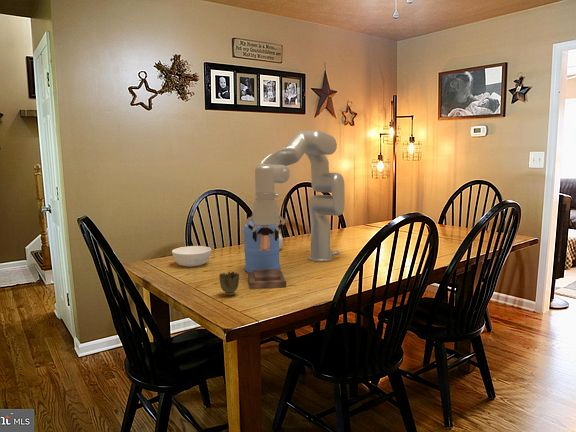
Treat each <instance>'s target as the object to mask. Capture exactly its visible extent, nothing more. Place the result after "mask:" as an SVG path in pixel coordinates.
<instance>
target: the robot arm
mask: <svg viewBox="0 0 576 432" xmlns="http://www.w3.org/2000/svg"><path fill="white" fill-rule="evenodd" d="M337 146H338V143H337V140H336V138H335V137H334V136H333V135H330V133H329V134H328V133H326V132H324V131H321V130H315V129H314V130H313V129H311V130H300V131H297V132H296V133H295V134H294V135H293V136H292V137H291V139H290V140H289V141H288V142H287V143H286V144H285V145H284V147H282V148H280V149H277V150H276V151H274V152H272V153H271V154H268V155H267V156H265V157H264V158H263V160H262V161H261V162H260V163H259V164H258V165H257V166H255V168H254V179H255V181H254V182H255V183H254V185H255V189H254V191H255V192H254V193H255V200H253V203H252V214H251V216H250V217H248V218H247V219H246V220H244V225H245V224H246V225H247V226H248V228H249V229H251V230H252V231H253V239H254V241H255V242H256V241H257V234H256V228H257V227H258V226H270V225H274V227H275V241H277V239H278V238H279V230H280V231H281V229H282V228H283V226H284V225H285V223H286V222H287V220H286V218H284V217H283V216H281V215H279V209H278V203H277V199H276V198H278V197H279V194H278V193H275V184H284V183H286V182H288V181H289V179H290V177H291V170H290V169H289V167H287V166H291V165H294V164H296V163H298V162H299V161H300V160H301V159H302V157H303V156H304V155H306V156H307V158H308V159H309V163H310V174H311V175H310V176H311V177H310V178H311V180H310V181H311V183H310V184H311V189H312V190H313V192H315V193H331V195H329V194H315V195H312V196H311V197H309V200H308V209H309V216H310V254H309V255H307V260H309V261H310V262H311V261H312V262H319V263H320V262H322V263H325V262H330V261H333V260H334V256H340V255H341V251H340V250H337V251H336V250H332V249H331V222H330V219H329V217H328V216H333V217H334V216H335V217H336V216H337V217H338V216H341V215H342V214H343V213H344V210H345V196H346V195H345V194H346V193H345V191H346V190H345V188H346V187H345V179H344V177H343V175H342V174H341V173H339V172H330V167H329V166H330V165H329V164H330V163H329V159H328V158H327V155H330V156H331V155H333V154H334V153H335V152H336V150H337ZM278 219H279V220H278ZM250 221H253V224H254V226H253V227H252V226H251V225H250V224H249V222H250ZM279 221H281V222H280V224H279ZM277 224H279V225H278V226H277Z"/></svg>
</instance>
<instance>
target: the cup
mask: <svg viewBox="0 0 576 432" xmlns="http://www.w3.org/2000/svg"><path fill="white" fill-rule="evenodd" d="M218 277H219V284H220V288H221V290H222V291H223V292H224V294H225V296H226V297H232V296H234V295H235V291H237V289H238V288H239V283H240V282H239V281H240V273H239V272H234V271H232V272H231V271H228V272H227V273H225V272H223V273H220V274H219V275H218Z"/></svg>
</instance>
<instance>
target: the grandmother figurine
mask: <svg viewBox="0 0 576 432" xmlns="http://www.w3.org/2000/svg"><path fill="white" fill-rule="evenodd" d="M262 227H263V228H261V229H260V230H259V231H258V232H257V238H258V237H259V234H261V239H260V249H259V251H263V250H264V249H265V251H270V249H269V248H270V236H269V234H272V235H273V237H275V235H274V231H272V230H271V229H270V228H267V227H268V226H262Z"/></svg>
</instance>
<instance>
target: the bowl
mask: <svg viewBox="0 0 576 432" xmlns="http://www.w3.org/2000/svg"><path fill="white" fill-rule="evenodd" d="M171 253H172V257H173V259H174V261H175V263H177V264H178V265H179V266H182V267H189V268H191V267H199V266H202V265H204V264H206V263H207V262H208V260H209V259H210V256H212V255H211V254H212V248H211V247H209V246H203V245H190V246H189V245H188V246H181V247H177V248H174V249H172V250H171Z"/></svg>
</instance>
